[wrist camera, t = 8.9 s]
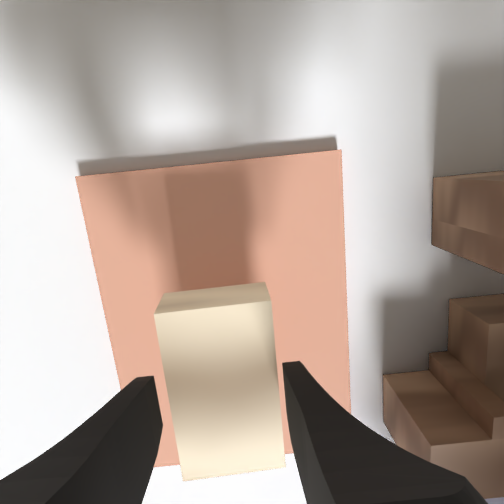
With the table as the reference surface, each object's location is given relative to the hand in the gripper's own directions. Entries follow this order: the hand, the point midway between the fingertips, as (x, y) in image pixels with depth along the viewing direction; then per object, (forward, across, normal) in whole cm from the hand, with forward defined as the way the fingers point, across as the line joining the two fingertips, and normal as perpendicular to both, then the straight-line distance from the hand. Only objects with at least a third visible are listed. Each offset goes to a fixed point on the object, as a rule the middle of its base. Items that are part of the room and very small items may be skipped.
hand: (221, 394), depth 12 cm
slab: (+2, 0, 0) cm, 3 cm away
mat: (+6, 0, 0) cm, 6 cm away
